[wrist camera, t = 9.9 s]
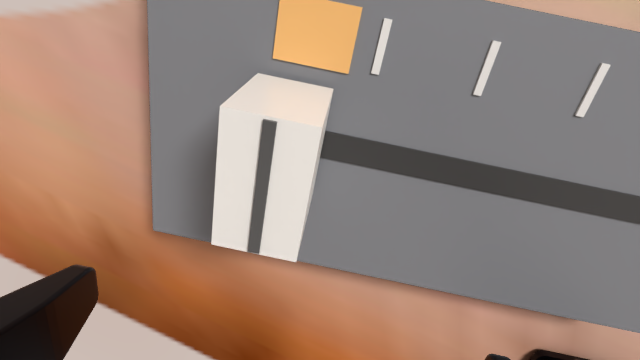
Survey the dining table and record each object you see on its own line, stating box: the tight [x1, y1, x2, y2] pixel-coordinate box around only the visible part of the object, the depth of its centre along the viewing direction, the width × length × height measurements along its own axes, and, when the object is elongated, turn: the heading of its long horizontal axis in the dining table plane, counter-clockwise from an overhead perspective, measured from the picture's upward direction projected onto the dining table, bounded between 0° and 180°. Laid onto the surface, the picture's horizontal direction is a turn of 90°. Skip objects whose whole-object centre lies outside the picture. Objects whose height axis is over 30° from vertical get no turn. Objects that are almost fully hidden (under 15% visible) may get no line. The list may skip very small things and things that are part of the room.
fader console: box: [147, 0, 640, 333], centre depth 18 cm, size 13×25×3 cm, turn 80°
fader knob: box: [211, 73, 333, 262], centre depth 14 cm, size 5×3×5 cm, turn 170°
